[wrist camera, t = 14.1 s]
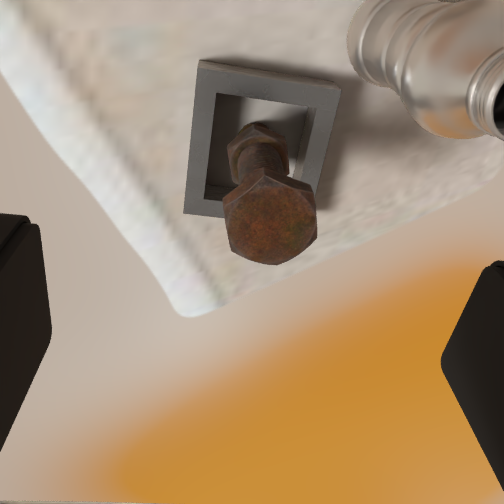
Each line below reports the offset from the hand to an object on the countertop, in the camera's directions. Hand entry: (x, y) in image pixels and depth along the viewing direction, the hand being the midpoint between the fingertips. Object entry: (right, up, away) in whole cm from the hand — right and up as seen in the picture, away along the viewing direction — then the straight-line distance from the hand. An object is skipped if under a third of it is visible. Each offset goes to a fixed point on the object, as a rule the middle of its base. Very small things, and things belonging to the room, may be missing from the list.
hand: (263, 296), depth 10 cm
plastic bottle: (+10, +17, +25) cm, 32 cm away
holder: (0, +10, +29) cm, 31 cm away
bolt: (0, +10, +29) cm, 31 cm away
